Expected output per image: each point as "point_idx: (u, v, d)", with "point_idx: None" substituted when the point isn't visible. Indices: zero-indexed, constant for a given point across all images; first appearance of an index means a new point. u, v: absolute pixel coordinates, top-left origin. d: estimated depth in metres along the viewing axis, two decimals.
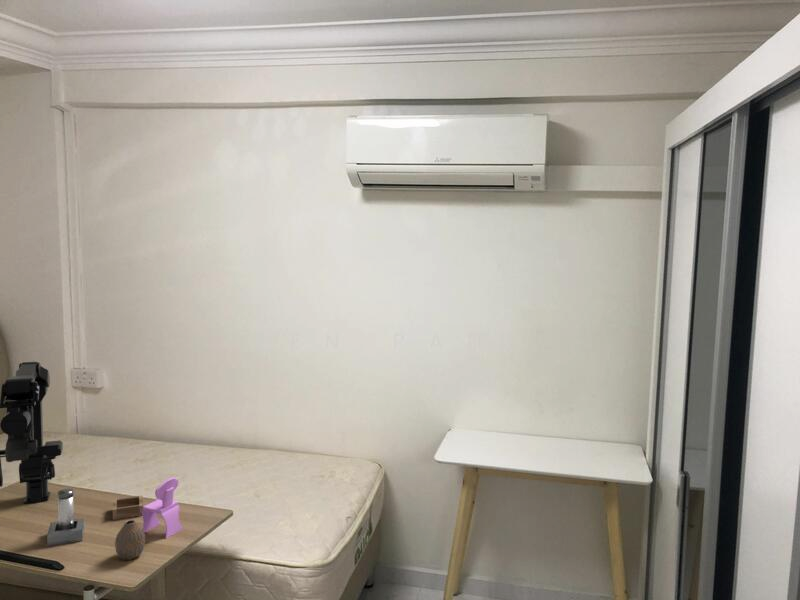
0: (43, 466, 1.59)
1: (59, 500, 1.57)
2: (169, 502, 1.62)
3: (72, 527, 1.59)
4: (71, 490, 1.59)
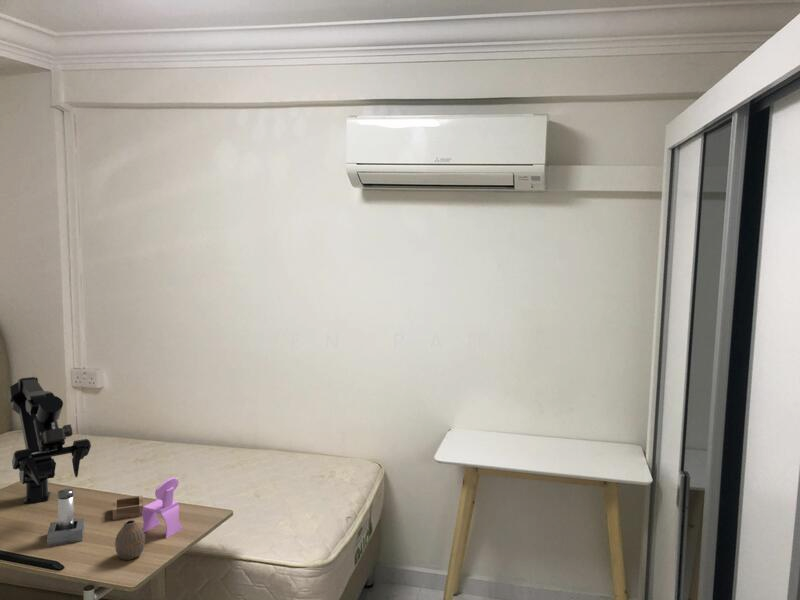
0: (76, 460, 1.69)
1: (59, 500, 1.57)
2: (169, 502, 1.62)
3: (72, 527, 1.59)
4: (71, 490, 1.59)
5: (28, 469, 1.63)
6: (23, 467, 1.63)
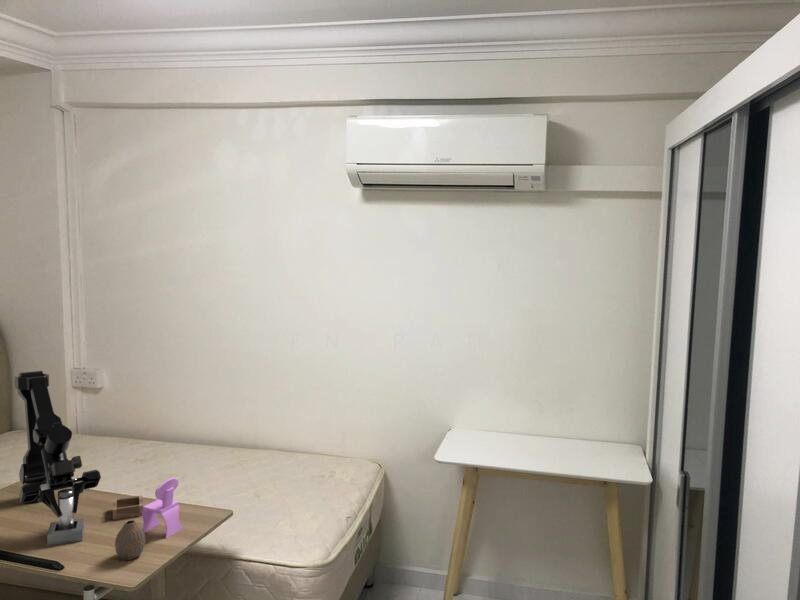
0: (75, 495, 1.61)
1: (59, 500, 1.57)
2: (169, 502, 1.62)
3: (72, 527, 1.59)
4: (71, 490, 1.59)
5: (47, 501, 1.59)
6: (42, 499, 1.59)
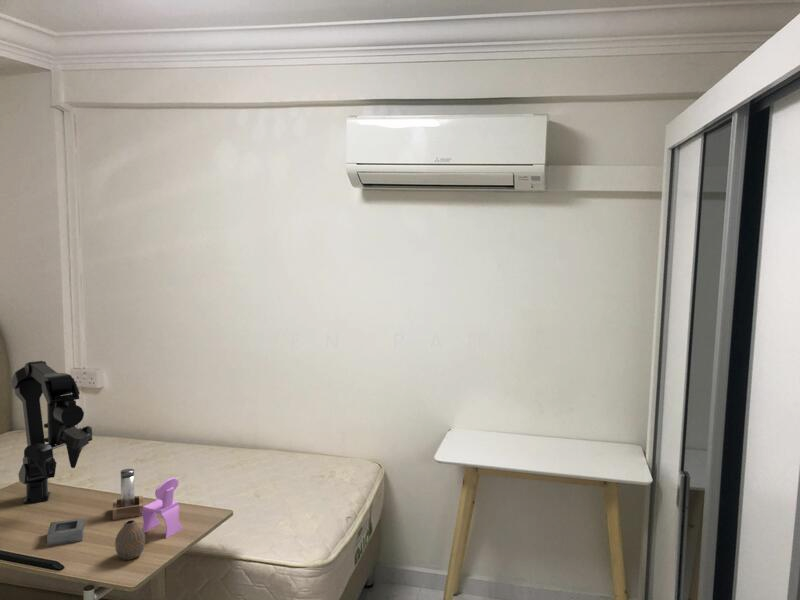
0: (77, 453, 1.75)
1: (125, 479, 1.73)
2: (169, 502, 1.62)
3: (134, 502, 1.76)
4: (131, 469, 1.76)
5: (38, 460, 1.65)
6: None
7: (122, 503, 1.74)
